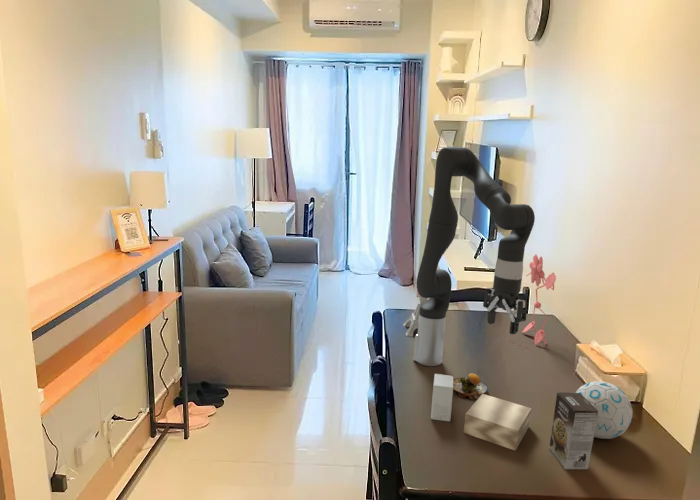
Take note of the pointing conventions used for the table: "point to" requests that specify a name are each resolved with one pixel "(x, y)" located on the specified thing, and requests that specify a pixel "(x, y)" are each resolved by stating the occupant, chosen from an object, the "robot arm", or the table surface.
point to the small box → (442, 397)
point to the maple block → (497, 421)
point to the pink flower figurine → (535, 276)
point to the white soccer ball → (608, 408)
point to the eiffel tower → (414, 318)
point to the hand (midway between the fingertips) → (501, 328)
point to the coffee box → (573, 430)
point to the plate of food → (470, 386)
